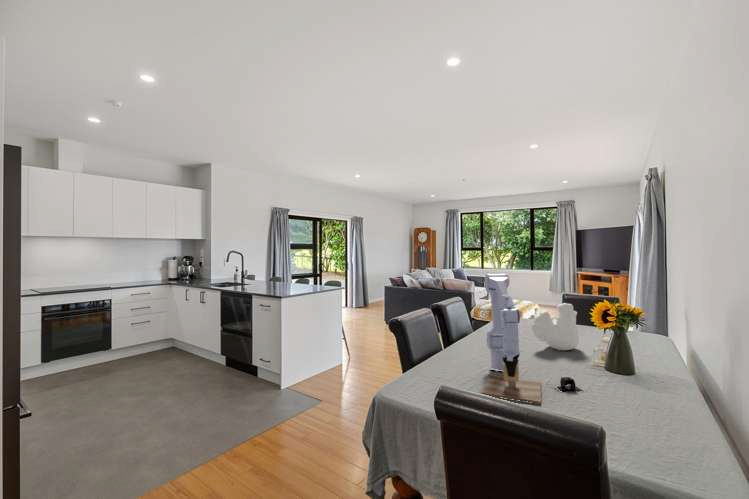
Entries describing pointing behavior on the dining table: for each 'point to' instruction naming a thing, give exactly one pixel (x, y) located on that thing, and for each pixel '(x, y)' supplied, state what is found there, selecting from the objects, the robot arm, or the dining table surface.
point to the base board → (513, 389)
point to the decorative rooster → (557, 328)
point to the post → (511, 384)
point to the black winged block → (569, 382)
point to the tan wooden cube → (515, 378)
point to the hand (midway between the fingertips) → (511, 373)
